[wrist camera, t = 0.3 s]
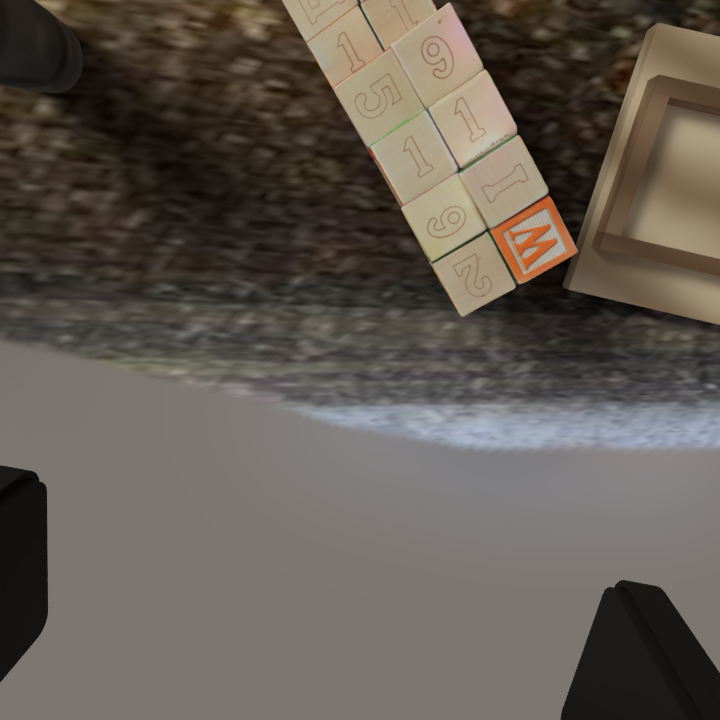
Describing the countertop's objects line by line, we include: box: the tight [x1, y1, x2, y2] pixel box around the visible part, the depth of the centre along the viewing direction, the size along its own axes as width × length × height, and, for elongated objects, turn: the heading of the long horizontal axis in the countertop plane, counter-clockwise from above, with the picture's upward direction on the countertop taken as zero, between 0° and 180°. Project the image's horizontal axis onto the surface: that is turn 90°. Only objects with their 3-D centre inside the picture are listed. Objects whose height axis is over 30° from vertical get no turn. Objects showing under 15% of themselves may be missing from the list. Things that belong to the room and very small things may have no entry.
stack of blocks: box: [282, 0, 578, 317], centre depth 29 cm, size 21×6×12 cm, turn 31°
